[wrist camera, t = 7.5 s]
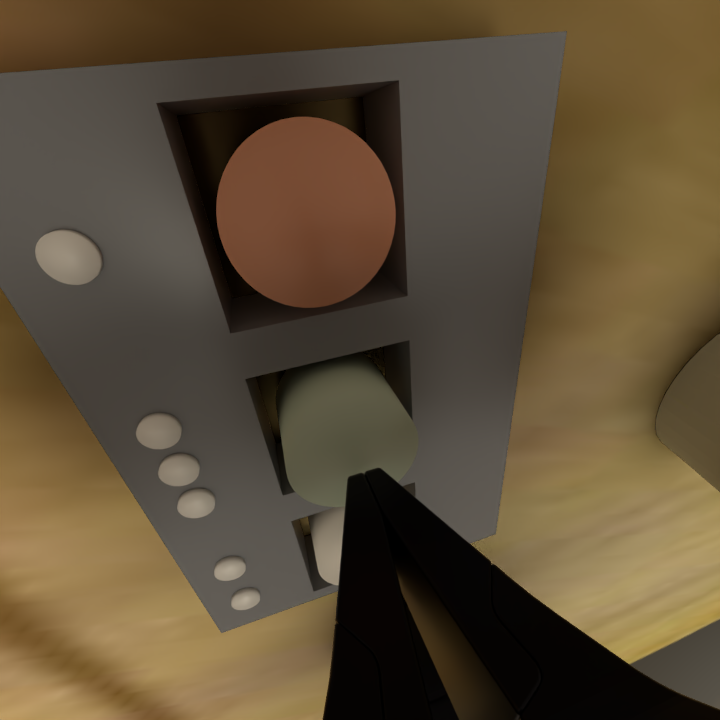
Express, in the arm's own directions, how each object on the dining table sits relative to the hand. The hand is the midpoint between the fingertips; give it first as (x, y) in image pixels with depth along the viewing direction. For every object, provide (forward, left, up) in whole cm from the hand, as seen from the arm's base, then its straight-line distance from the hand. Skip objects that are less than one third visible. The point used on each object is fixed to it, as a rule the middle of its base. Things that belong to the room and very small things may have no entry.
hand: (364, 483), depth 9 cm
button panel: (0, 0, -5) cm, 5 cm away
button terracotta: (+6, 0, -5) cm, 7 cm away
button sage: (0, 0, -5) cm, 5 cm away
